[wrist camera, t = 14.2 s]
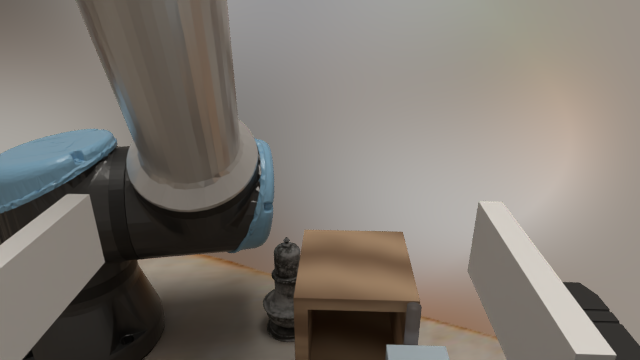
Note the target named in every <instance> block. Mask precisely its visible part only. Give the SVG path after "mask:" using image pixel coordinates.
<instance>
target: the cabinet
mask: <svg viewBox="0 0 640 360" xmlns="http://www.w3.org/2000/svg"><path fill="white" fill-rule="evenodd" d="M420 318H421V305H420V299H419V295H418V291H417V287H416V283H415V280H414V275H413V271H412V267H411V263H410V259H409V255H408V251H407V247H406V244H405V239H404V235H403V232H387V231H384V232H383V231H382V232H381V231H339V230H337V231H336V230H305V231H304V237H303V243H302V249H301V255H300V261H299V267H298V273H297V279H296V286H295V292H294V329H295V360H385V358H386V345H418V337H419V327H420Z"/></svg>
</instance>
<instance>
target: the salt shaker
mask: <svg viewBox="0 0 640 360" xmlns="http://www.w3.org/2000/svg"><path fill="white" fill-rule="evenodd" d="M289 241H290V240H289V239H288V238H287V237H286V238H285V239H284V243H281V244H279V245H278V246H277V247H276V248H275V250H274V264H275V269H274V270H273V272H272V278H273V279H274V280H275V289H274V290H272V291H271V292H269V293H268V294H267V295H266V296H265V298H264V301H263V306H264V309H265V311H266V312H267V314H268V316H269V318H270V320H269V322H268V324H267V330H268V332H269V334H270V335H271V336H272V337H273V338H275V339H276V340H279V341H283V342H294V341H295V329H294V292H295V286H296V279H297V273H298V267H299V261H300V249H299V247H298V246H297V245H296V244H294V243H291V242H289Z"/></svg>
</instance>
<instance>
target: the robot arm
mask: <svg viewBox="0 0 640 360" xmlns="http://www.w3.org/2000/svg"><path fill="white" fill-rule="evenodd" d="M75 1H76V3H77V6H78V8H79V10H80V13H81V15H82V18H83V20H84V22H85V25H86V27H87V30H88V32H89V34H90V37H91V39H92V42H93V44H94V46H95V49H96V51H97V54H98V56H99V58H100V61H101V63H102V66H103V68H104V70H105V73H106V75H107V78H108V80H109V82H110V85H111V87H112V90H113V92H114V94H115V97H116V99H117V102H118V104H119V107H120V109H121V111H122V114H123V116H124V119H125V121H126V123H127V126H128V128H129V130H130V133H131V135H132V137H133V141H132V143H131V145H130V146H127V147H118V146H117V140H116V139H115V138H114V136H113V134H112V133H111V132H109V131H107V130H104V129H103V130H98V129H84V130H77V131H70V132H65V133H60V134H56V135H51V136H47V137H43V138H40V139H36V140H33V141H30V142H27V143H24V144H21V145H19V146H16V147H14V148H11V149H9V150H7V151H5V152H3V153H1V154H0V360H141V359H142V358H143V357H144V356H145V355H146V354H147V353H148V352H149V351H150V350H151V349H152V348H153V347H154V346H155V344H156V343H157V341H158V340H159V338H160V336H161V334H162V332H163V329H164V314H163V308H162V303H161V300H160V298H159V296H158V294H157V293H156V291H155V290H154V288H153V287H152V285H151V283H150V282H149V280H148V279H147V277H146V276H145V274H144V273H143V271H142V270H141V268H140V267H139V265H138V261H137V260H139V259H148V258H160V257H171V256H183V255H194V254H206V253H217V252H228V253H236V252H238V251H240V250H245V249H251V248H257V247H259V246H261V245H263V243H265V241H266V240H267V238H268V236H269V234H270V230H271V224H272V218H273V205H272V203H273V199H274V171H273V161H272V155H271V150H270V147H269V145H268V144H267V143H266V142H264V141H263V140H257V139H255V138H254V137H253V134H252V133H251V132H250V130H249V128H248V127H247V126H246V125H245V124H244V123H243V122H242V121H240V120H239V119H238V112H237V102H236V91H235V81H234V70H233V59H232V49H231V38H230V28H229V18H228V7H227V0H75ZM468 273H469V275H470V278H471V280H472V282H473V284H474V286H475V289H476V291H477V293H478V295H479V298H480V300H481V302H482V305H483V307H484V309H485V311H486V314H487V316H488V318H489V320H490V323H491V325H492V327H493V329H494V332H495V334H496V336H497V338H498V341H499V343H500V345H501V347H502V350H503V352H504V354H505V356H506V359H507V360H640V346H639V345H638V343H637V342H636V341H635V340H634V339H633V337H632V336H631V335H630V334H629V333H628V331H627V330H626V329H625V328H624V326H623V325H621V324H619V321H618V319H617V318H616V317H615V316H614V314H613V313H612V312H610V311H609V308H608V307H607V306H606V305H605V304H604V302H603V301H602V300H601V299H600V298H599V296H598V295H597V294H595V293H594V292H592V291H591V290H589V289H588V288H586V287H585V286H583V285H582V284H581V283H573V282H562V281H561V280H560V278H559V277H558V276H557V274H556V273H555V272H554V271H553V269H552V268H551V266H550V265H549V264H548V263H547V261H546V260H545V258H544V257H543V256H542V255H541V253H540V252H539V251H538V249H537V248H536V246H535V245H534V244H533V242H532V241H531V240H530V239H529V237H528V236H527V234H526V233H525V232H524V230H523V229H522V228H521V226H520V225H519V224H518V222H517V221H516V220H515V218H514V217H513V216H512V214H511V213H510V212H509V210H508V209H507V208H506V206H505V205H504V204H503V202H485V201H479V203H478V209H477V215H476V221H475V229H474V234H473V241H472V247H471V253H470V260H469V265H468Z"/></svg>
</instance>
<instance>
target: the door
mask: <svg viewBox="0 0 640 360" xmlns="http://www.w3.org/2000/svg"><path fill="white" fill-rule="evenodd" d="M385 360H449V356H448V353H447V350H446V346H419V345H386V358H385Z"/></svg>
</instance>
